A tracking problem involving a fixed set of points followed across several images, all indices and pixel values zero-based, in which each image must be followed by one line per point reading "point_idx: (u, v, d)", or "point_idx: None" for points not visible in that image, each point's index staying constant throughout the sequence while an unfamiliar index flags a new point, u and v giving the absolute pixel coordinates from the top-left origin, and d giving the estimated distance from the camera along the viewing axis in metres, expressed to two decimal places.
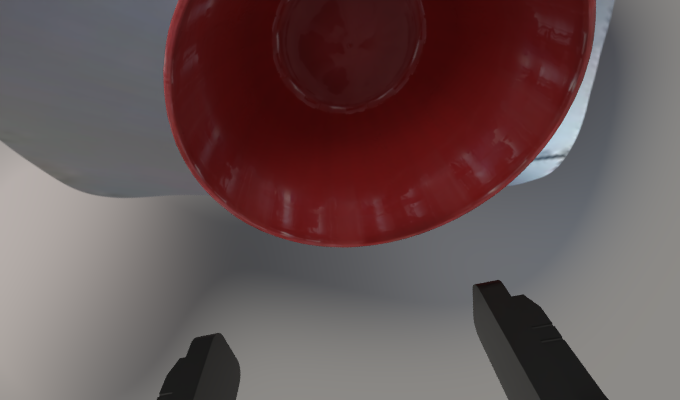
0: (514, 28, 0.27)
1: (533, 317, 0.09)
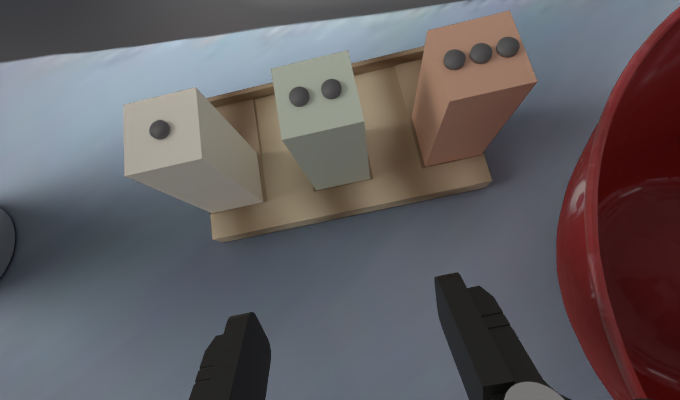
0: None
1: (486, 306, 0.09)
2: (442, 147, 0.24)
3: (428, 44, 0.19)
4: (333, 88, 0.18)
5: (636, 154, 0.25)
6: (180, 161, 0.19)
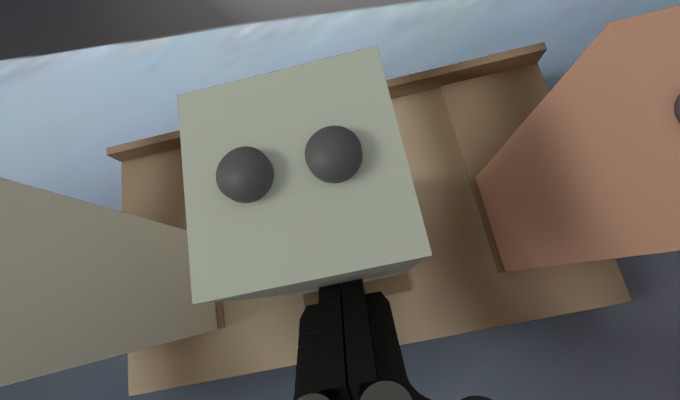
0: None
1: (380, 311, 0.10)
2: None
3: (602, 60, 0.07)
4: (339, 154, 0.06)
5: None
6: None
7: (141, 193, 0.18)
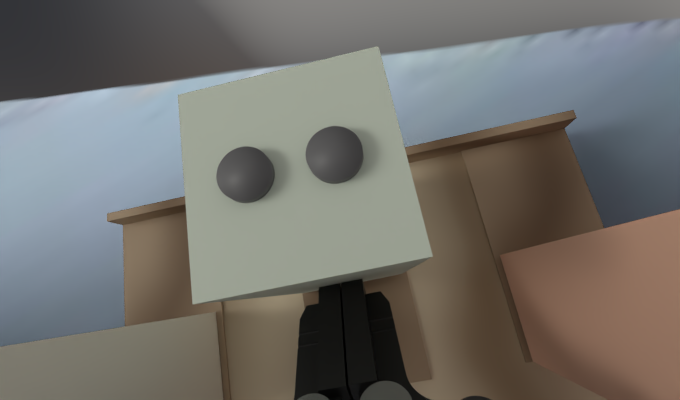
0: None
1: (380, 311, 0.10)
2: None
3: None
4: (340, 154, 0.06)
5: None
6: None
7: (143, 260, 0.17)
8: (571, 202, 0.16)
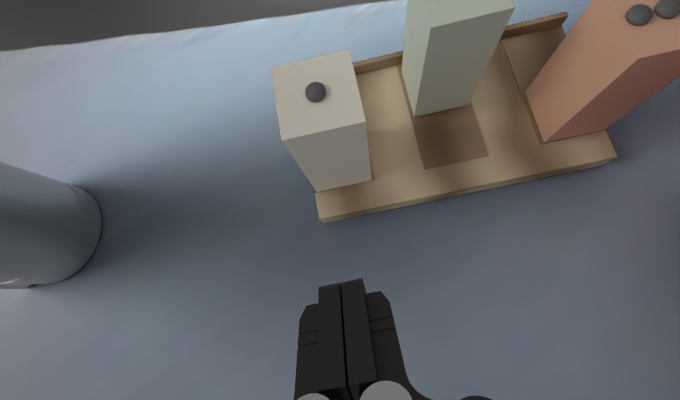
0: None
1: (380, 311, 0.10)
2: (580, 118, 0.23)
3: (599, 1, 0.18)
4: None
5: None
6: (341, 124, 0.17)
7: None
8: None
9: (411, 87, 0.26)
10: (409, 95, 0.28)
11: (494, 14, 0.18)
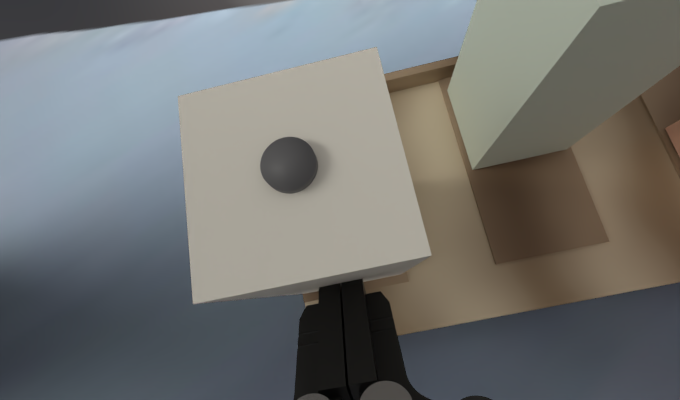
0: None
1: (380, 311, 0.10)
2: None
3: None
4: None
5: None
6: (362, 262, 0.06)
7: None
8: None
9: (473, 123, 0.15)
10: (464, 133, 0.16)
11: None
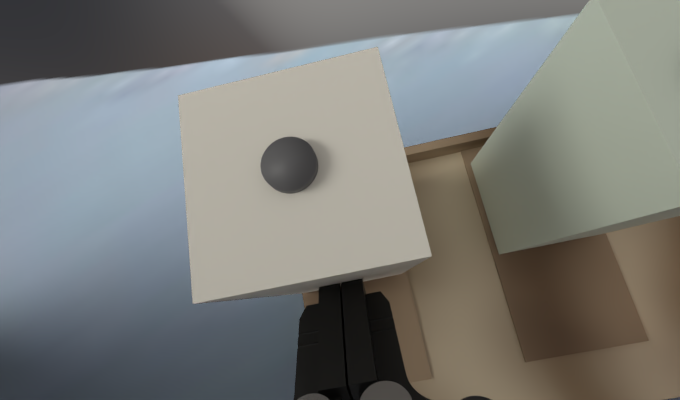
0: None
1: (380, 310, 0.10)
2: None
3: None
4: None
5: None
6: (362, 263, 0.06)
7: None
8: None
9: (503, 212, 0.14)
10: (490, 215, 0.15)
11: None
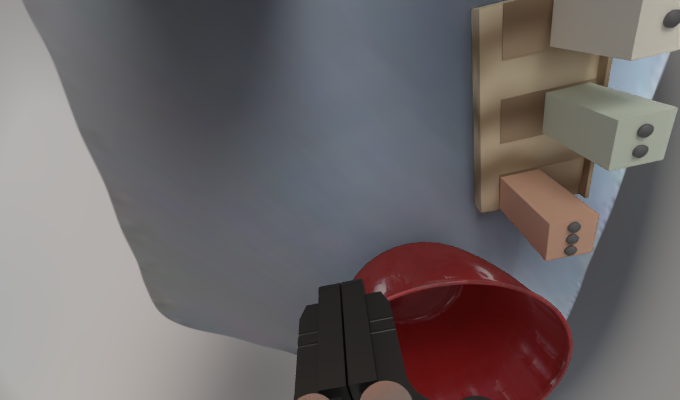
0: (520, 327, 0.44)
1: (380, 311, 0.10)
2: (515, 197, 0.37)
3: (590, 212, 0.32)
4: (640, 153, 0.28)
5: None
6: (636, 41, 0.24)
7: None
8: None
9: (573, 93, 0.34)
10: (565, 89, 0.35)
11: (609, 159, 0.29)
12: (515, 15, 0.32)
